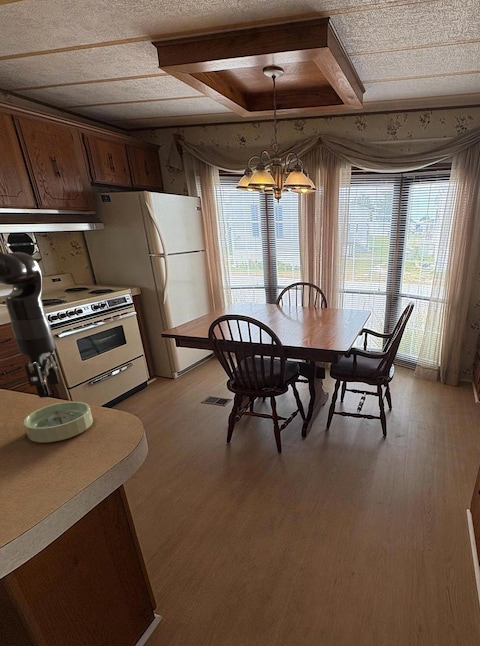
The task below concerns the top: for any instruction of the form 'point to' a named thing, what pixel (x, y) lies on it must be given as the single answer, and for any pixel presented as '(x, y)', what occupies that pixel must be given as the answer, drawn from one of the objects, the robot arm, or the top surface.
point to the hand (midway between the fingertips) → (50, 390)
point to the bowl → (60, 432)
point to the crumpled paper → (59, 418)
